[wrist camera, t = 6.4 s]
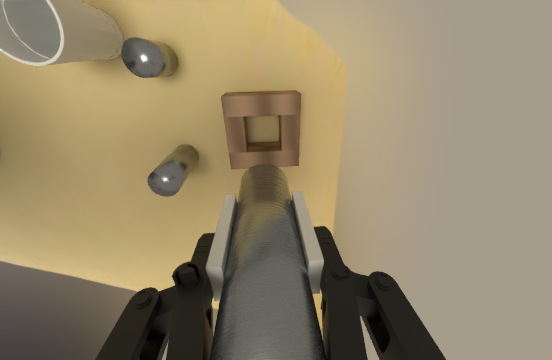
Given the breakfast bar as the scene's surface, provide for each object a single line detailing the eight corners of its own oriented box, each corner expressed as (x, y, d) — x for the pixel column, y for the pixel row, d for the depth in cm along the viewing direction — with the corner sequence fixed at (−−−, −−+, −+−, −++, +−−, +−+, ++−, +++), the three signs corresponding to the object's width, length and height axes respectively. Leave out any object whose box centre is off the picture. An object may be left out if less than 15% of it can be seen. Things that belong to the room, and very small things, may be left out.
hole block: (234, 158, 41) (231, 169, 37) (225, 92, 35) (220, 96, 31) (294, 155, 42) (298, 165, 37) (295, 90, 36) (301, 94, 31)
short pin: (153, 76, 33) (129, 78, 27) (144, 43, 31) (115, 37, 25) (180, 75, 33) (163, 77, 27) (173, 42, 31) (153, 37, 25)
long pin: (243, 204, 21) (204, 497, 7) (238, 164, 18) (166, 470, 5) (287, 202, 21) (339, 482, 7) (287, 162, 19) (364, 449, 5)
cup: (141, 44, 31) (81, 33, 21) (106, 76, 33) (34, 82, 22) (92, -16, 28) (-10, -65, 17) (55, 24, 29) (-58, 0, 19)
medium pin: (178, 166, 41) (153, 197, 31) (172, 145, 39) (143, 171, 29) (200, 165, 41) (182, 195, 32) (196, 144, 39) (175, 169, 29)
